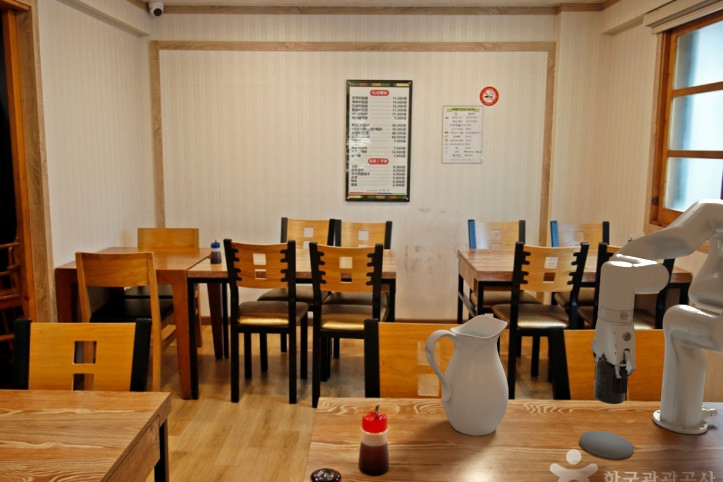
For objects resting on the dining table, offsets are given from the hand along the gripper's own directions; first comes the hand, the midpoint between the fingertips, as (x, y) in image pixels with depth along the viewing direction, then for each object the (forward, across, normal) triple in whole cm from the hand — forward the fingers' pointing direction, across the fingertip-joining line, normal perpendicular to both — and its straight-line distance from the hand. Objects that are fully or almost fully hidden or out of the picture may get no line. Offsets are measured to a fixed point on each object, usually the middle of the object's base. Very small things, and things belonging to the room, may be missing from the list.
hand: (610, 386), depth 139 cm
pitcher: (+16, +15, +31) cm, 38 cm away
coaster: (+15, 0, 0) cm, 15 cm away
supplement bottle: (+3, 0, 0) cm, 3 cm away
